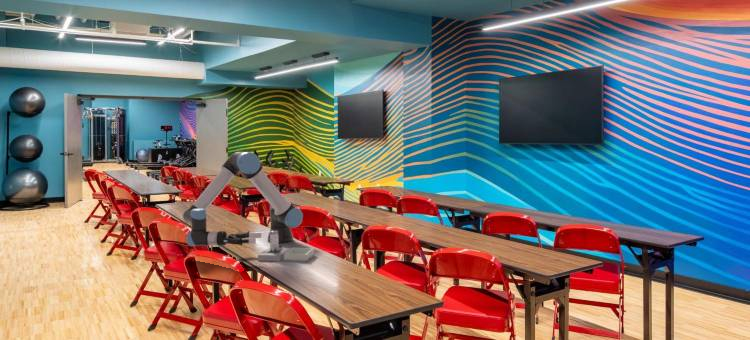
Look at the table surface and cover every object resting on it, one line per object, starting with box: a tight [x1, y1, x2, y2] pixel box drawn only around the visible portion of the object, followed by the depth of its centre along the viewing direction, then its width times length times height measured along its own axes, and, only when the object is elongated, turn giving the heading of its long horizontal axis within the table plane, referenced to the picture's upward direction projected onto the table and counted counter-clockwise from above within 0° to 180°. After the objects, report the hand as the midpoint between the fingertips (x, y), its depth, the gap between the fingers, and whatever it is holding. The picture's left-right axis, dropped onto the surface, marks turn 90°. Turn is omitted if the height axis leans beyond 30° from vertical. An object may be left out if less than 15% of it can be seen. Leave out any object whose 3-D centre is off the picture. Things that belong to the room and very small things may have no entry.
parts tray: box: [283, 247, 315, 263], centre depth 255 cm, size 14×12×4 cm
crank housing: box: [257, 245, 291, 262], centre depth 258 cm, size 16×12×5 cm
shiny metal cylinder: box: [269, 230, 280, 253], centre depth 258 cm, size 4×4×14 cm
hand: (258, 238), depth 257 cm, fingers open, 13 cm apart
